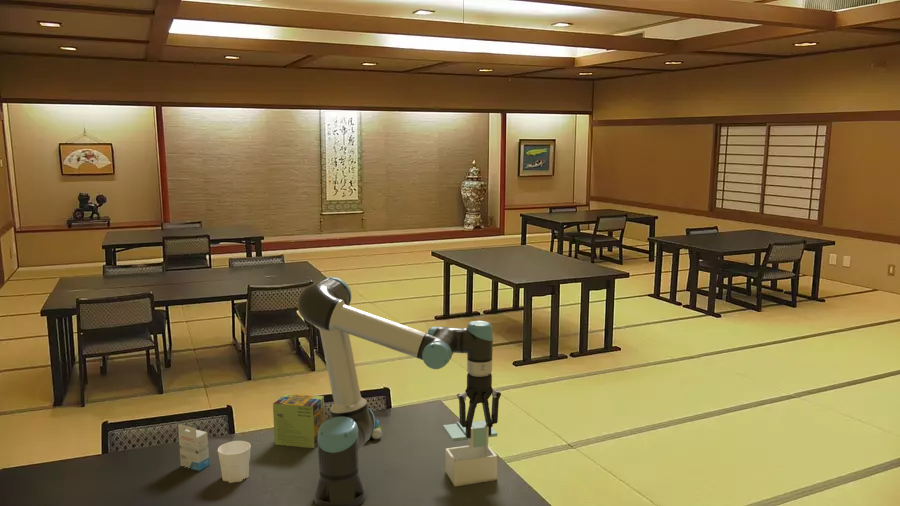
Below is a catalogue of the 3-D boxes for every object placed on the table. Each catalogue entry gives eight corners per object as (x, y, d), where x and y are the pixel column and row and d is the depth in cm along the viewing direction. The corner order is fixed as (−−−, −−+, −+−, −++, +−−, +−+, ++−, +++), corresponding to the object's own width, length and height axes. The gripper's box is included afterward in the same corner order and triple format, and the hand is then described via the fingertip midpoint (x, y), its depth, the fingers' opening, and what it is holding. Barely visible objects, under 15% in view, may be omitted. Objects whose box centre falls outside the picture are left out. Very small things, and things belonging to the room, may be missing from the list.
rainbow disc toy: (352, 435, 251) (351, 416, 250) (377, 430, 255) (377, 412, 254) (359, 444, 244) (358, 424, 242) (385, 439, 248) (384, 420, 246)
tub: (454, 486, 212) (454, 461, 211) (445, 471, 222) (445, 448, 221) (497, 479, 216) (497, 455, 215) (486, 466, 226) (486, 443, 225)
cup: (218, 486, 213) (216, 456, 212) (220, 471, 223) (218, 442, 222) (252, 481, 216) (250, 452, 215) (252, 467, 226) (250, 439, 224)
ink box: (210, 465, 227) (207, 423, 225) (198, 471, 223) (195, 428, 221) (191, 460, 231) (189, 418, 229) (180, 466, 227) (177, 423, 225)
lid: (457, 450, 205) (457, 430, 205) (442, 430, 220) (443, 411, 219) (502, 444, 210) (503, 425, 209) (485, 425, 224) (486, 407, 223)
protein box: (314, 448, 240) (313, 406, 238) (274, 445, 243) (272, 403, 241) (326, 436, 250) (324, 395, 248) (286, 433, 253) (284, 393, 251)
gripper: (456, 379, 200) (455, 455, 203) (510, 374, 205) (508, 448, 208) (448, 371, 207) (447, 444, 210) (501, 366, 212) (500, 438, 215)
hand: (478, 446), depth 209 cm, fingers closed on lid, 4 cm apart
